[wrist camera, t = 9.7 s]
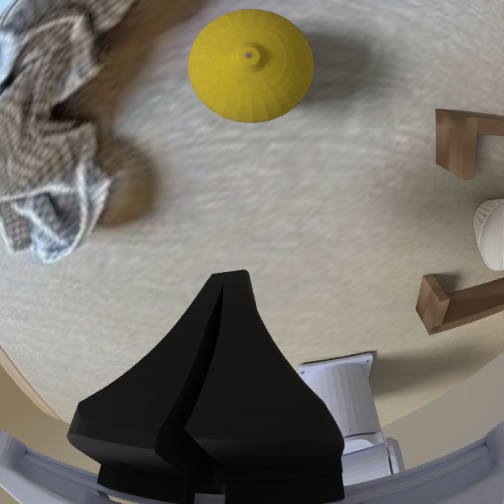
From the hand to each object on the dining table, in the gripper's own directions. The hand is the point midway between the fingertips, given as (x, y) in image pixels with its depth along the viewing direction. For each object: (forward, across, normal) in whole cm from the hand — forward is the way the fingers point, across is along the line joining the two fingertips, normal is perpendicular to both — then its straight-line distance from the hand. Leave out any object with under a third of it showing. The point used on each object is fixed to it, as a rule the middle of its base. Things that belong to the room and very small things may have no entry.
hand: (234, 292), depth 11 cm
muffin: (+10, -20, +4) cm, 23 cm away
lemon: (+10, -2, -8) cm, 13 cm away
